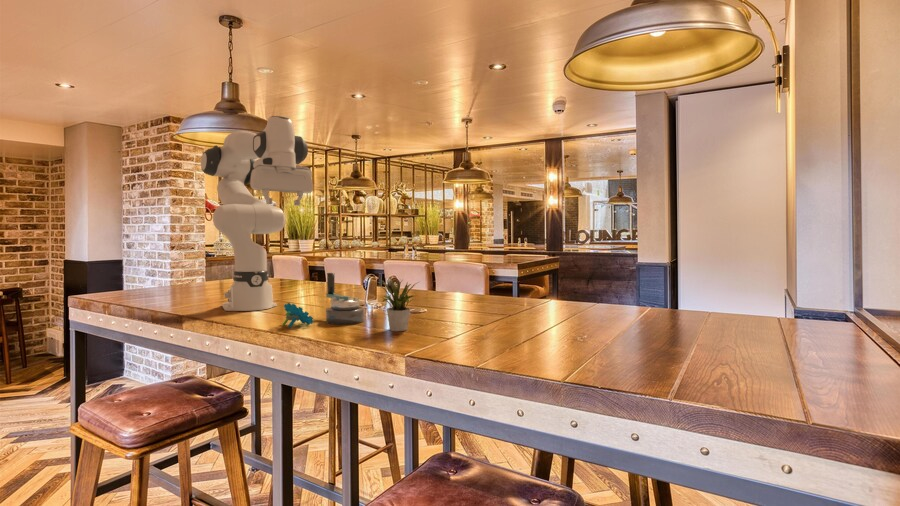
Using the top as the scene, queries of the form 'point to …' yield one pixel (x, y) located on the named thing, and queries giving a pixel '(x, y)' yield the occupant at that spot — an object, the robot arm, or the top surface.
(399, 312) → the house plant
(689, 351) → the top surface
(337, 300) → the crank handle
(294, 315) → the toy dinosaur
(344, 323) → the nut housing
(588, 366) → the top surface
